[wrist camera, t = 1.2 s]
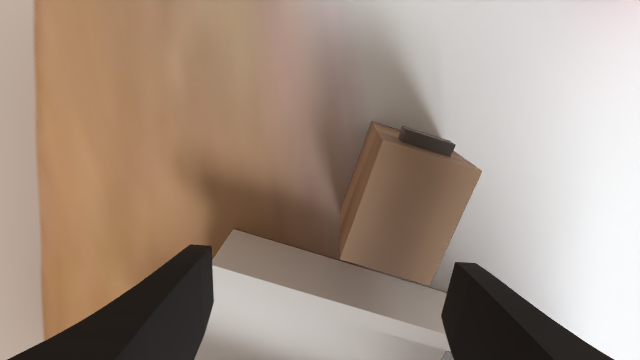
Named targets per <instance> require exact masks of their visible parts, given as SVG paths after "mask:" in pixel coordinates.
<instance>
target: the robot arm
mask: <svg viewBox="0 0 640 360" xmlns="http://www.w3.org/2000/svg"><path fill="white" fill-rule="evenodd" d="M213 303H214V293H213V269H212V246H204V245H189V246H188V247H186V248H185V249H184V250H182V251H181V252H180V253H178V254H177V255H176V256H175V257H173V258H172V259H171V260H169V261H168V262H167V263H165V264H164V265H163V266H162V267H160V268H159V269H158V270H156V271H155V272H154V273H152V274H151V275H149V276H148V277H147V278H145V279H144V280H143V281H141V282H140V283H139V284H137V285H136V286H134V287H133V288H131V289H130V290H128V291H127V292H125V293H124V294H122V295H121V296H120V297H118V298H117V299H115V300H114V301H112V302H111V303H109V304H108V305H106V306H105V307H103V308H102V309H100V310H98V311H97V312H95V313H94V314H92V315H90V316H89V317H87V318H85V319H84V320H82V321H80V322H78V323H77V324H75V325H73V326H71V327H70V328H68V329H66V330H64V331H63V332H61V333H59V334H57V335H55V336H54V337H52V338H50V339H48V340H46V341H44V342H42V343H40V344H38V345H36V346H34V347H32V348H30V349H28V350H26V351H24V352H22V353H20V354H18V355H16V356H14V357H12V358H10V359H8V360H194V359H195V356H196V354H197V352H198V349H199V347H200V344H201V342H202V340H203V337H204V335H205V331H206V328H207V325H208V321H209V318H210V314H211V311H212V307H213ZM441 318H442V322H443V326H444V330H445V333H446V337H447V340H448V344H449V347H450V350H451V353H452V355H453V358H454V360H614V359H612V358H610V357H609V356H607V355H605V354H604V353H602V352H600V351H599V350H597V349H596V348H594V347H592V346H591V345H589V344H588V343H586V342H585V341H583V340H582V339H580V338H579V337H577V336H576V335H574V334H573V333H571V332H570V331H568V330H567V329H565V328H564V327H563V326H561V325H560V324H558V323H557V322H555V321H554V320H552V319H551V318H550V317H548V316H547V315H545V314H544V313H543V312H541V311H540V310H539V309H537V308H536V307H534V306H533V305H532V304H530V303H529V302H528V301H526V300H525V299H524V298H522V297H521V296H520V295H518V294H517V293H516V292H514V291H513V290H512V289H510V288H509V287H508V286H507V285H505V284H504V283H503V282H501V281H500V280H499V279H497V278H496V277H495V276H493V275H492V274H491V273H489V272H488V271H486V270H485V269H483V268H482V267H481V266H479V265H477V264H476V263H463V262H455V265H454V269H453V273H452V276H451V280H450V284H449V288H448V291H447V295H446V299H445V302H444V306H443V310H442V314H441Z"/></svg>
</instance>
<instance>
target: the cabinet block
mask: <svg viewBox="0 0 640 360" xmlns="http://www.w3.org/2000/svg"><path fill="white" fill-rule="evenodd" d="M454 147H455V144H454V143H452V142H450V141H448V140H445V139H442V138H439V137H436V136H432V135H429V134H426V133H423V132H420V131H417V130H413V129H410V128H407V127H404V126H402V129H401V131H400V130H397V129H394V128H391V127H387V126H384V125H381V124H378V123H375V122H372V121H371V124H370V127H369V130H368V133H367V136H366V139H365V142H364V144H363V147H362V150H361V153H360V156H359V159H358V162H357V165H356V168H355V170H354V173H353V176H352V179H351V182H350V185H349V188H348V191H347V193H346V196H345V199H344V202H343V205H342V208H341V211H340V259H341V260H344V261H347V262H351V263H354V264H357V265H361V266H364V267H367V268H371V269H374V270H377V271H381V272H384V273H387V274H391V275H394V276H397V277H401V278H404V279H407V280H411V281H414V282H417V283H421V284H424V285H427V286H430V284H431V282H432V279H433V277H434V275H435V273H436V271H437V269H438V266H439V264H440V262H441V260H442V258H443V255H444V253H445V251H446V249H447V247H448V245H449V242H450V240H451V238H452V236H453V234H454V232H455V229H456V227H457V225H458V223H459V221H460V218H461V216H462V214H463V212H464V210H465V208H466V205H467V203H468V201H469V199H470V197H471V195H472V192H473V190H474V188H475V186H476V184H477V181H478V179H479V177H480V175H481V173H482V170H480V169H479V168H477V167H476V166H474V165H473V164H472V163H470V162H469V161H467V160H466V159H464V158H463V157H462V156H460V155H459V154H457V153H456V152H454V151H453V150H454Z"/></svg>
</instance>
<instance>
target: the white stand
mask: <svg viewBox="0 0 640 360" xmlns="http://www.w3.org/2000/svg"><path fill="white" fill-rule="evenodd" d="M212 269H213V293H214V303H213V307H212V311H211V314H210V318H209V321H208V325H207V328H206V331H205V335H204V337H203V340H202V342H201V344H200V347H199V349H198V352H197V354H196V356H195V359H194V360H442V358H443V356H444V354H445V352H446V351H449V352H451V350H450V347H449V344H448V340H447V337H446V333H445V330H444V326H443V322H442V318H441V314H442V310H443V306H444V302H445V299H446V295H447V293H445V292H442V291H439V290H435V289H432V288H429V287H425V286H422V285H419V284H415V283H412V282H409V281H405V280H402V279H399V278H395V277H392V276H389V275H385V274H382V273H379V272H375V271H372V270H369V269H365V268H362V267H359V266H355V265H352V264H349V263H345V262H342V261H339V260H335V259H332V258H329V257H325V256H322V255H319V254H315V253H312V252H308V251H305V250H302V249H298V248H295V247H292V246H288V245H285V244H282V243H278V242H275V241H272V240H268V239H265V238H262V237H258V236H255V235H252V234H248V233H245V232H242V231H238V230H235V229H233V230H232V232H231V233H230V235H229V236H228V237H227V239H226V240H225V242H224V243H223V245H222V246H221V248H220V249H219V251H218V252H217V254H216V255H215V257H214V258H213V259H212Z"/></svg>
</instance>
